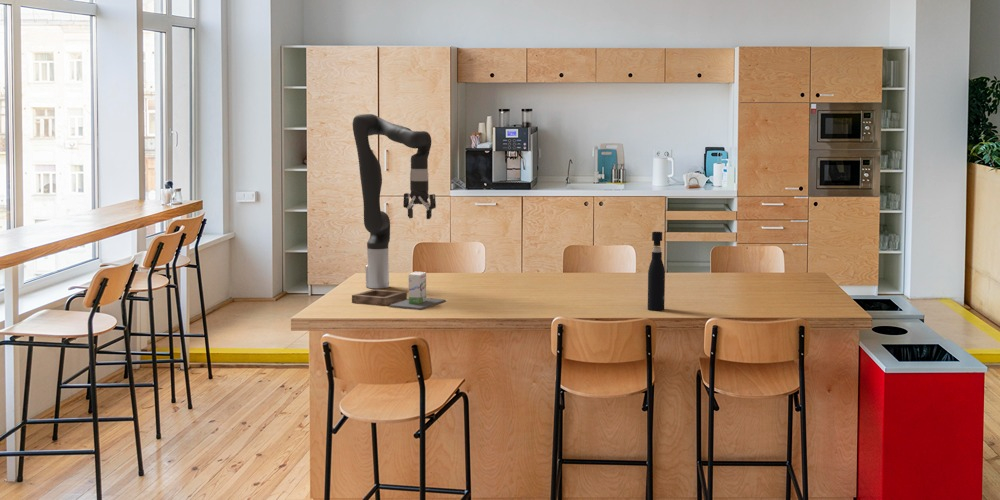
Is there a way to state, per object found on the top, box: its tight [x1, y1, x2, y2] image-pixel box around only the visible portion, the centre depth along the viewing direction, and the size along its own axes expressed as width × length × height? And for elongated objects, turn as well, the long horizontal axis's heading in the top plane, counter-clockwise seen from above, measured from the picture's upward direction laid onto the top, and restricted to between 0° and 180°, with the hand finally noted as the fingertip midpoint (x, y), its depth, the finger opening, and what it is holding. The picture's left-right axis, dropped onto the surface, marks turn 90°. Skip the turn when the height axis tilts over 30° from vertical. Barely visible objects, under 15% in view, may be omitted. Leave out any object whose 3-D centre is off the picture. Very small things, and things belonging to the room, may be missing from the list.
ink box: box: [407, 271, 427, 304], centre depth 413 cm, size 8×5×12 cm, turn 166°
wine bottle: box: [647, 231, 666, 312], centre depth 399 cm, size 6×6×30 cm
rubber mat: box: [389, 297, 447, 311], centre depth 414 cm, size 14×20×1 cm
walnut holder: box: [351, 288, 408, 306], centre depth 421 cm, size 16×16×3 cm
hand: (419, 218), depth 433 cm, fingers open, 8 cm apart
